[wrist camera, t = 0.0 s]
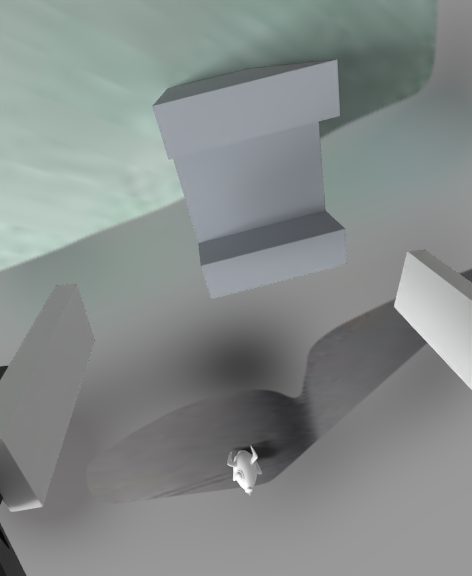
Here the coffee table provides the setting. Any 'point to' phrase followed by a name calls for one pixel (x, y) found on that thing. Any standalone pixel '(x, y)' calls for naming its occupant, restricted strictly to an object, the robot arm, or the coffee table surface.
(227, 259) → the slotted block
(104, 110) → the coffee table surface
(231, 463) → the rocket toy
